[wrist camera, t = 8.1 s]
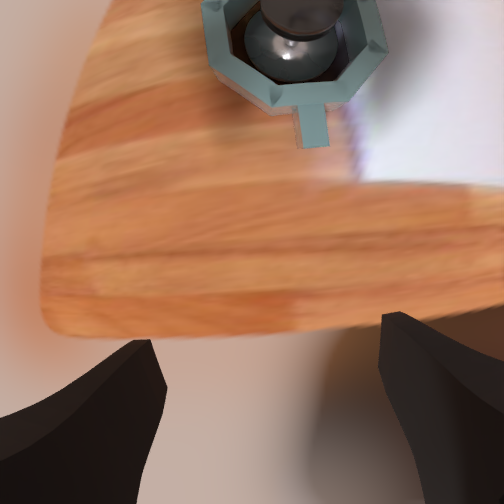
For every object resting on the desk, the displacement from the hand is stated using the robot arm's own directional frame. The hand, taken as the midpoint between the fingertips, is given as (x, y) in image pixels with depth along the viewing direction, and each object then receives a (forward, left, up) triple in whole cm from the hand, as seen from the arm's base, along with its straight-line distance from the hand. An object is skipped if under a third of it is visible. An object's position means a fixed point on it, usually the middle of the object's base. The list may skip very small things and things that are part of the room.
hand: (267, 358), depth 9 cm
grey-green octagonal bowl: (-3, -12, -10) cm, 16 cm away
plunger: (-3, -12, -10) cm, 16 cm away
